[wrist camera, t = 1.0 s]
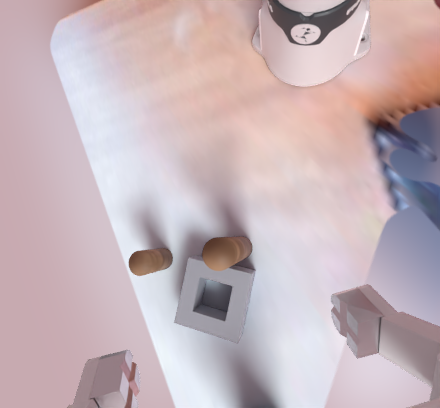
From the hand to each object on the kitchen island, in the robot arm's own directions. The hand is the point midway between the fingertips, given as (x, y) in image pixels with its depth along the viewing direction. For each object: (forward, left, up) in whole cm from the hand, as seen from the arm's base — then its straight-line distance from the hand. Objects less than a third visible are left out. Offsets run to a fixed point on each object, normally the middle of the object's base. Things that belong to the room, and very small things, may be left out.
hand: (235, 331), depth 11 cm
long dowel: (0, -6, -35) cm, 35 cm away
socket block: (+8, -8, -35) cm, 37 cm away
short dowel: (+5, -19, -35) cm, 40 cm away
